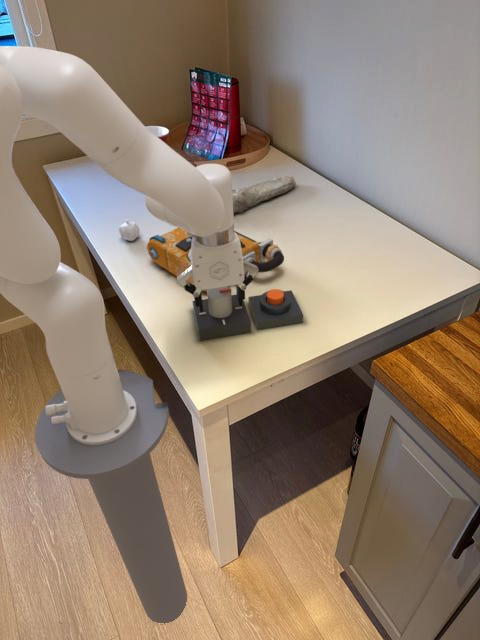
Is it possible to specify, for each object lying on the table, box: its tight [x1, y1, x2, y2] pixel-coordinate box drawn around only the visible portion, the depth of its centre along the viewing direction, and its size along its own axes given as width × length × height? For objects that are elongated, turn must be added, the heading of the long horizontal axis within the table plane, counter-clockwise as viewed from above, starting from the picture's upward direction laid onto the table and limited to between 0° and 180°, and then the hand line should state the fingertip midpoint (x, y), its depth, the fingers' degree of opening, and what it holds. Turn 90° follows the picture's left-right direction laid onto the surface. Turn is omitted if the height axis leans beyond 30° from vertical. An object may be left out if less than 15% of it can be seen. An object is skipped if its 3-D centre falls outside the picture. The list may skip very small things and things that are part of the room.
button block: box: [248, 289, 304, 330], centre depth 106 cm, size 10×9×4 cm
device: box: [146, 227, 285, 292], centre depth 119 cm, size 23×8×30 cm
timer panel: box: [192, 293, 252, 341], centre depth 104 cm, size 11×10×3 cm
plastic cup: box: [145, 125, 170, 144], centre depth 171 cm, size 11×11×12 cm
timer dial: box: [206, 286, 233, 318], centre depth 102 cm, size 5×5×5 cm
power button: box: [266, 288, 284, 305], centre depth 104 cm, size 4×4×2 cm
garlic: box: [118, 219, 140, 242], centre depth 133 cm, size 6×5×5 cm
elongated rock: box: [232, 175, 297, 215], centre depth 148 cm, size 35×5×10 cm
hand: (220, 304), depth 102 cm, fingers open, 7 cm apart
